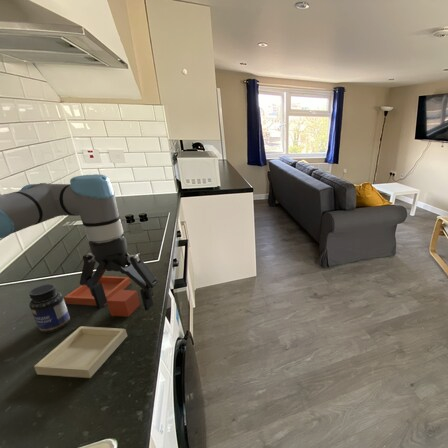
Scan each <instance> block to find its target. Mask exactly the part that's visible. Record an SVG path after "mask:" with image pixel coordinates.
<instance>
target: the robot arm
mask: <svg viewBox="0 0 448 448" xmlns="http://www.w3.org/2000/svg"><path fill="white" fill-rule="evenodd" d="M115 193H116V192H115V190H114V189H113V185H112V182H111V179H110V178H109V177H108V176H107V175H104V174H83V175H76V176H73V177H71V178H70V180H69V183H46V182H40V183H30V184H26V185H24V186H22V187H21V188H20V189H19V190H18V191H12V192H9V193H4V194H0V239H4V238H7V237H8V236H11V235H12V234H15V233H17V232H19V231H22V230H24V229H27V228H29V227H32V226H36V225H39V224H41V223H44V222H46V221H49V220H52V219H54V218H57V217H61V216H62V217H64V216H65V217H67V216H71V217H72V216H75V217H78V216H80V219H81V223H82V225H83V229H84V233H85V235H86V239H87V240H88V245H89V249H90V251H89V252H88V253H86V254H84V255H82V260H83V264H82V265H83V266H82V270H81V274H80V279H79V286H81V285H82V286H83V285H87V287H88V288H89V289H90V292H91V295H92V296H93V297H94V298H95V302H96V305H95V306H96V307H97V309H101V308H103V307H105V306H106V305H107V304H108V303H107V299H106V296H105V293H104V289H103V286H102V283H98V282H99V280H100V278H101V277H102V276H104V274H105V272H106V271H107V272H112V271H113V272H120V273H121V274H122V275H126V277H129V278H130V280H132V281H133V282H134V284H136V285H138V286H139V287H140V288H141V289H140V291H139V292H140V295H141V299H142V303H143V306H144V311H149V310H150V309H151V307H153V305H154V301H153V297H154V290H153V288H155V286H156V285H158V283H159V280H158V279H157V277H156V276H155V275H154V274H153V273H152V271H151V269H150V268H149V267H148V265H147V264H146V263H145V262H144V260H143V259H142V256H141V254H140V253H139V252H136V253H135V254H129V253H128V251H127V250H128V243H127V239H126V236H125V234H124V227H123V225H122V221H121V217H120V215H119V214H120V213H119V209H118V204H117V200H116V194H115ZM96 262H97V263H98V265H97V266H96ZM95 266H96V269H95ZM94 269H95V272H94ZM97 283H98V284H97ZM106 303H107V304H106ZM105 304H106V305H105ZM104 305H105V306H104Z"/></svg>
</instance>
